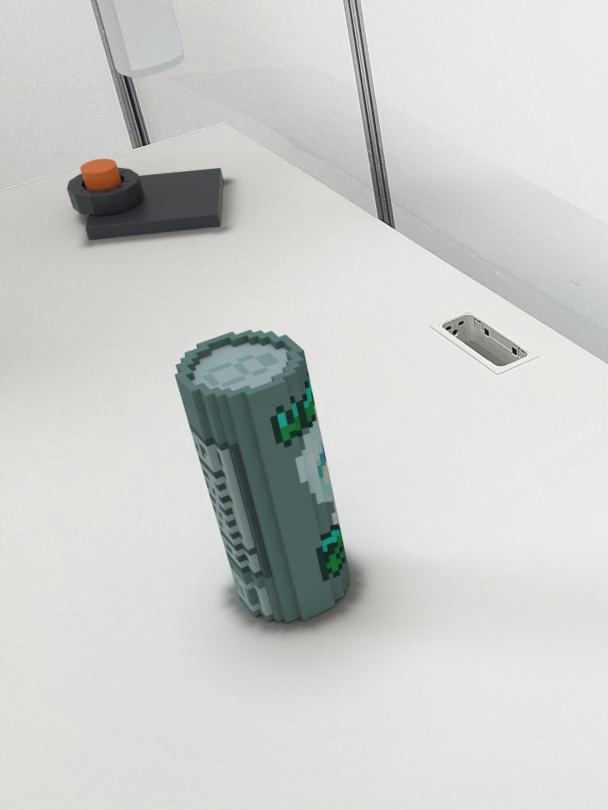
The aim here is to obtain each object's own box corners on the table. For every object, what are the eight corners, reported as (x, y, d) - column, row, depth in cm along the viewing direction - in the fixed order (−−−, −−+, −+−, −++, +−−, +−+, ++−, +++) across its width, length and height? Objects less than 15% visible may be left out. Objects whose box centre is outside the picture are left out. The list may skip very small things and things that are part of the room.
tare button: (84, 194, 106) (78, 174, 105) (88, 180, 108) (82, 160, 107) (120, 190, 107) (114, 171, 105) (123, 176, 109) (117, 157, 108)
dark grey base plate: (71, 242, 105) (60, 209, 103) (84, 193, 112) (74, 161, 110) (220, 227, 107) (212, 194, 105) (223, 180, 114) (216, 148, 112)
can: (366, 591, 72) (322, 366, 61) (270, 636, 69) (208, 409, 59) (317, 538, 75) (268, 318, 65) (224, 579, 72) (158, 357, 62)
